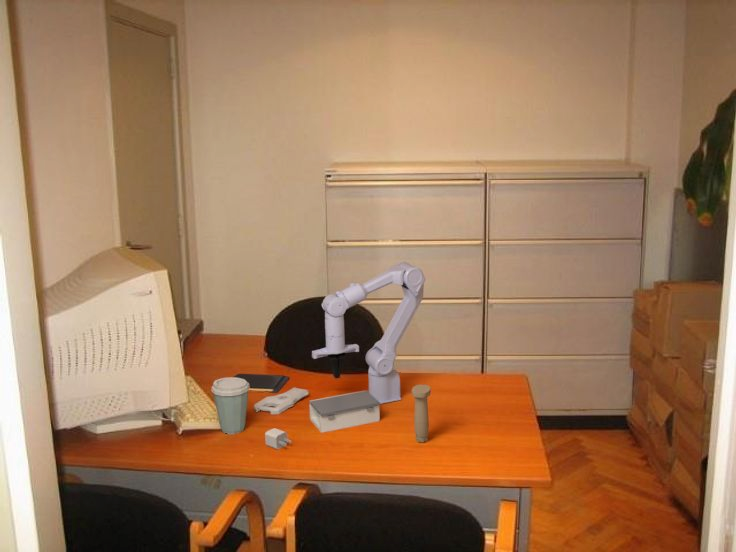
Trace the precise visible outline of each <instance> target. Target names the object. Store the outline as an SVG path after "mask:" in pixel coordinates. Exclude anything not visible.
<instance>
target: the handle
mask: <svg viewBox="0 0 736 552" xmlns="http://www.w3.org/2000/svg"><path fill="white" fill-rule="evenodd" d="M431 390H432V389H431V387H430V385H428V384H417V385H415V386H412V388H411V395H412V397H413V398H414V400H415V401H414V419H413V420H414V421H413V422H414V423H413V425H414V434H415V441H417V443H421V444H424V443H425V442H426V443H427V442H428V440H429V436H428V435H429V429H430V428H429V422H430V421H429V407H428V397H429V396H430V395H431Z"/></svg>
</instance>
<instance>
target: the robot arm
mask: <svg viewBox="0 0 736 552" xmlns="http://www.w3.org/2000/svg"><path fill="white" fill-rule="evenodd" d="M425 282H426V277H425V274H424V272H423V270H422V269H421V268H419V267H417V266H414V265H412V264H411V263H410V262H407V261H400V262H398V264H394V265H392V266H391V267H389V268H388V269H387V270H384V271H383V272H381V273H380V274H378V275H376V276H374V277H372V278H371V279H369V280H367V281H366V282H364V283H359V282H356V283H354V282H351V283H349V286H348V287H345V288H344V289H342V290H340V291H339V290H337V291H335V294H334V293H330V294H328V295H326V296H325V297H324V298H323V300H322V302H321V308H322V309H323V311H324V330H325V347H323V348H320V349H315V350H312V351H311V358H312V359H313V360H315V359H318V358H323V357H325V358H326V360H327V362H328V363H329V366H330V369H331V372H332V375H333V378H335V379H340V378H341V372H342V369H343V366H344V363H345V362H346V360H347V355H346V354H347V353H348V354H349V353H359V352H360V346H359V345H358V344H357V343H354V344H346V342H345V341H346V340H345V338H346V337H345V319H344V318H345V317H344V314H346V310H348V309H350V308H352V307H354V306H356V305H358V304H360V303H362V302H364V301H366V299H367V296H368V295H369V294H371V293H373V292H376V291H378V290H380V289H382V288H384V287H386V286H388V285H391V284H393V285H398V286H401V289H402V291H403V295H404V296H403V297H402V300H401V302H400V303H399V305H398V307H397V309H396V311H395V313H394V314H393V316H392V319H391V320H390V322H389V323H388V326H387V328H386V330H385V331H384V332H383V333H384V334H383V335H382V337H381V339H380V340H378V341H376V342H375V343H374V345H373V346H372V347H371V348H370V349H369V350H367V352H366V354H365V362H366V364H367V365H368V371H367V372H368V373H367V375H368V392H369V393H370V394H371V395H372V396H373V397H374V398H376V399H377V400H378V401H379V402H380V405H382V404H387V403H391V402H392V403H393V402H396V401H401V400H402V398H401V378H400V375H399V372H398V371H397V370H396V369H394V368H395V360H396V358H397V347H398V345H399V344H400V342H401V340H402V338H403V336H404V334H405V332H406V331H407V329H408V326H409V325H410V323H411V321H412V319H413V317H414V316H415V313H416V312H417V310H418V308H419V307H420V304H421V302H422V301H423V299H424V289H425V287H424V285H425Z"/></svg>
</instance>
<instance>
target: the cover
mask: <svg viewBox="0 0 736 552" xmlns="http://www.w3.org/2000/svg"><path fill="white" fill-rule="evenodd" d="M308 401H309V403H308V404H311V405H312V407H313V408H314V409H315V410H316V411H317V412H318V413H319V414H320V416H326V415H332V414H337V413H342V412H347V411H352V410H357V409H362V408H368V407H373V406H378V405H379V406H381V404H380V402H379V401H378V400H377V399H376V398H374V397H373V396H372V395H371V394H370V393H369V390H367V389H366V390H360V391H355V392H349V393H343V394H337V395H331V396H326V397H321V398H317V399H311V400H308Z"/></svg>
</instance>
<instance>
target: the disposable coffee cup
mask: <svg viewBox="0 0 736 552" xmlns="http://www.w3.org/2000/svg"><path fill="white" fill-rule="evenodd" d="M249 387H250V386H249V383H248V382H247V381H246V380H244V379H241V378H236V377H234V376H233V377H232V376H230V377H221V378H219V379H215V380H214V381H213V383H212V386H211V392H212V395H213V399H214V404H215V409H216V413H217V418H218V422H219V427H220V429H221V432H222V433H223V434H225V433H227V434H226V435H236V434H235V433H237V434H240V433H242V432H244V430H245V426H246V421H247V420H246V419H247V410H248V400H249V392H248V391H249ZM241 431H242V432H241ZM239 432H240V433H239Z"/></svg>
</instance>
